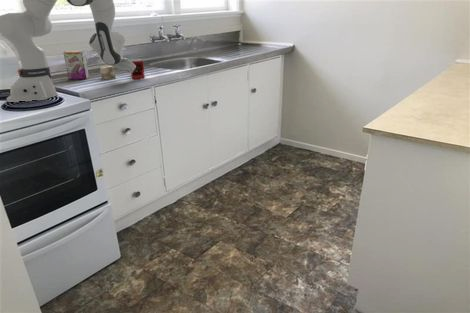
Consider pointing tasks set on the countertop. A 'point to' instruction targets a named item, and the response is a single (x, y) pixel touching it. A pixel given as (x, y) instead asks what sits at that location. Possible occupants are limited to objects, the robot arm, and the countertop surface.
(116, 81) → the countertop surface
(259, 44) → the countertop surface
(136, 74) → the canned food
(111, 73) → the birch block
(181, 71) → the countertop surface
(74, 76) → the candy bar box
